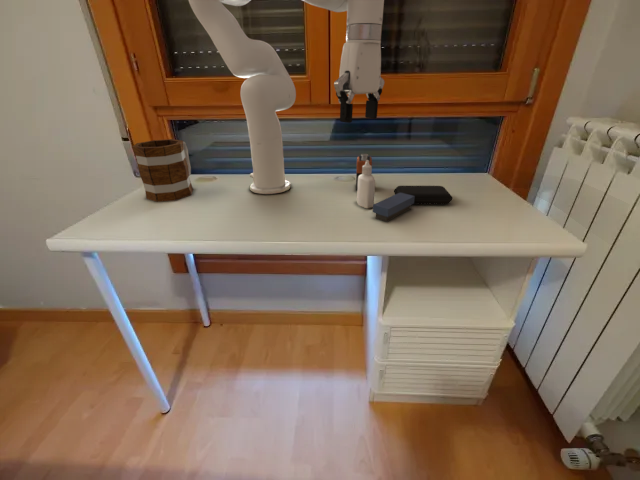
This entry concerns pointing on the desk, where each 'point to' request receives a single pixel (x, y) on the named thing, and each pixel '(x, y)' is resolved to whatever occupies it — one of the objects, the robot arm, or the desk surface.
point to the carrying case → (426, 194)
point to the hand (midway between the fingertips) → (358, 120)
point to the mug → (164, 169)
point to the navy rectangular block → (393, 206)
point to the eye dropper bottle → (366, 187)
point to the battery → (360, 162)
